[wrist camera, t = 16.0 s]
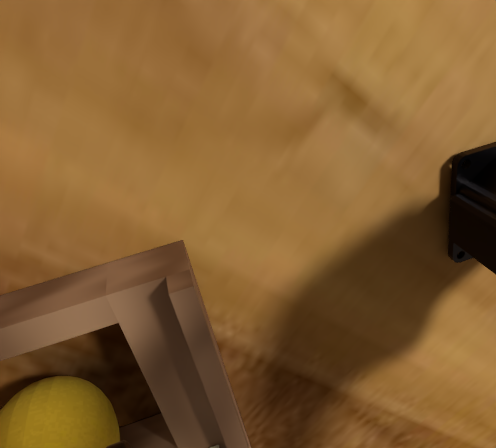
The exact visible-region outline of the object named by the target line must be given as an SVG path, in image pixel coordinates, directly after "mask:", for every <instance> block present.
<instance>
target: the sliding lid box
mask: <svg viewBox="0 0 496 448" xmlns="http://www.w3.org/2000/svg"><path fill="white" fill-rule="evenodd" d="M117 323H119V325H120V327H121V329H122V331H123V333H124V335H125V337H126V339H127V341H128V344H129V346H130V348H131V350H132V352H133V354H134V356H135V358H136V360H137V362H138V365H139V367H140V369H141V371H142V373H143V375H144V377H145V379H146V381H147V384H148V386H149V388H150V390H151V392H152V394H153V396H154V398H155V400H156V402H157V405H158V407H159V409H160V411H161V414H158V415H155V416H152V417H149V418H147V419H144V420H141V421H138V422H135V423H132V424H129V425H127V426H124V427H121V428H119V432H120V441H123V440H126V441H128V442H129V444H130V445H131V447H132V448H210V447H213V446H216V445H219V447H220V448H251V445H250V442H249V439H248V436H247V433H246V430H245V427H244V424H243V421H242V418H241V415H240V412H239V409H238V406H237V403H236V400H235V397H234V394H233V391H232V388H231V385H230V382H229V378H228V375H227V372H226V369H225V366H224V363H223V360H222V357H221V354H220V351H219V348H218V345H217V342H216V339H215V336H214V333H213V330H212V327H211V324H210V321H209V318H208V315H207V312H206V309H205V306H204V303H203V300H202V297H201V294H200V291H199V288H198V285H197V282H196V279H195V276H194V273H193V269H192V266H191V263H190V260H189V257H188V254H187V251H186V248H185V245H184V242H183V240H181V241H178V242H175V243H171V244H168V245H165V246H161V247H158V248H155V249H152V250H148V251H145V252H142V253H138V254H135V255H132V256H129V257H125V258H122V259H119V260H116V261H112V262H109V263H106V264H102V265H99V266H96V267H93V268H89V269H86V270H83V271H79V272H76V273H73V274H70V275H66V276H63V277H60V278H57V279H53V280H50V281H47V282H43V283H40V284H37V285H34V286H30V287H27V288H24V289H20V290H17V291H14V292H11V293H7V294H4V295H1V296H0V361H2V360H5V359H8V358H11V357H14V356H17V355H20V354H23V353H27V352H30V351H33V350H36V349H39V348H42V347H45V346H48V345H51V344H55V343H58V342H61V341H64V340H67V339H70V338H73V337H76V336H79V335H82V334H86V333H89V332H92V331H95V330H98V329H101V328H104V327H107V326H110V325H113V324H117Z"/></svg>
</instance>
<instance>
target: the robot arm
mask: <svg viewBox="0 0 496 448" xmlns="http://www.w3.org/2000/svg"><path fill="white" fill-rule="evenodd" d="M464 161H465V163H464V165H462V163H463V162H464ZM448 256H449V257H450V258H451V259H452V260H453V261H454V262H457V263H458V262H462V261H465V260H468V259H471V258H475V259H476V260H477V261H479V262H480V263H481V264H483V265H484V266H485V267H487V268H488V269H489V270H491V271H492V272H493V273H495V274H496V142H494V143H491V144H488V145H484V146H481V147H478V148H475V149H471V150H468V151H465V152H461V153H459V154H458V155H457V156H456V157H455V158H454V160H453V162H452V174H451V198H450V213H449V245H448ZM106 448H132V447H131V445H130V444H129V442H128V441H126V440H123V441H120V442H117V443H114V444H111V445H109V446H107V447H106Z"/></svg>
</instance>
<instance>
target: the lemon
mask: <svg viewBox="0 0 496 448" xmlns="http://www.w3.org/2000/svg"><path fill="white" fill-rule="evenodd" d="M117 442H120V432H119V425H118V421H117V418H116V415H115V412H114V409H113V406H112V404H111V402H110V400H109V399H108V398H107V397H106V396H105V394H104V393H103V392H102V391H101V389H99V388H98V387H97V386H95V385H94V384H92V383H91V382H89V381H87V380H84V379H81V378H78V377H73V376H54V377H49V378H44V379H42V380H39V381H37V382H34V383H32V384H30V385H29V386H27V387H25V388H24V389H22V390H21V391H19V392H18V393H17V394H15V395H14V396H13V397H12V398H11V399H10V400H9V401H8V402H7V403H6V404H5V406H4V407H3V408H2V409H1V410H0V448H106V447H107V446H109V445H111V444H114V443H117Z"/></svg>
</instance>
